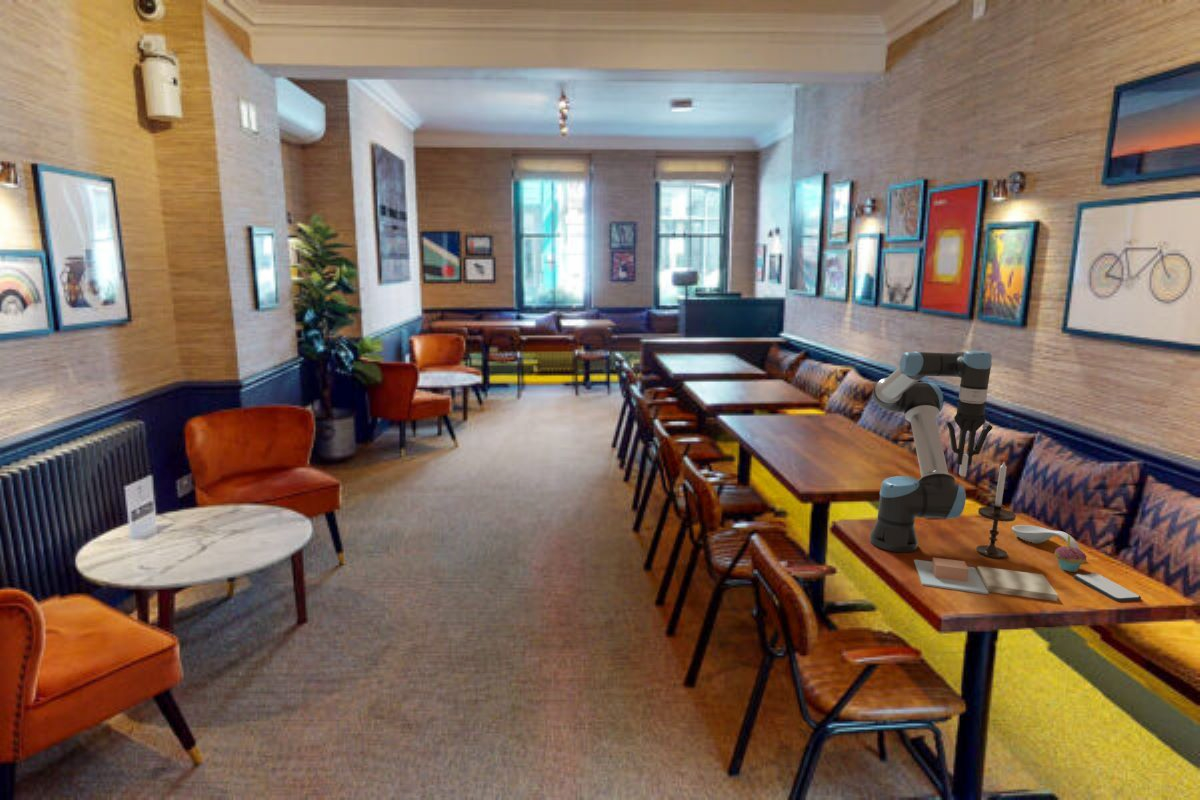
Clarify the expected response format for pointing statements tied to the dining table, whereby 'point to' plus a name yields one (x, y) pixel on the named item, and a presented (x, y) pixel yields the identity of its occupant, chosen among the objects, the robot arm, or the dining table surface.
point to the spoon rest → (1040, 534)
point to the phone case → (1107, 587)
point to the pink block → (950, 569)
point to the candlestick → (996, 518)
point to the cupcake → (1070, 557)
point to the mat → (971, 585)
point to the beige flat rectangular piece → (1016, 583)
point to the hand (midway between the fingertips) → (962, 474)
